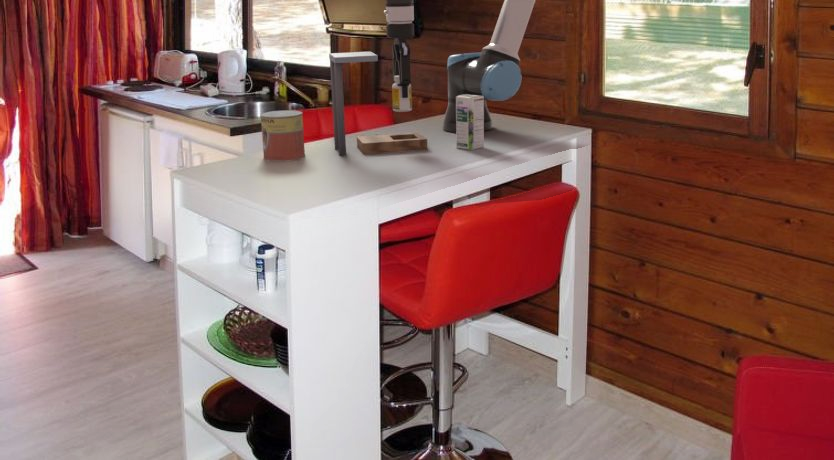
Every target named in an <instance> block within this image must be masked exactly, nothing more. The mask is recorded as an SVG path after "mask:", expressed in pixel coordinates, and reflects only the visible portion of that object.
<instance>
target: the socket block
mask: <svg viewBox="0 0 834 460" xmlns="http://www.w3.org/2000/svg"><path fill="white" fill-rule="evenodd" d="M356 146H357V148H358V150H359V151H360V152H361V153H362V155H374V154H385V153H397V152H398V153H400V152H401V153H402V152H417V151H428V139H427V138H426V137H425V136H424V135H423V134H421V133H420V132H406V133H404V132H403V133H390V134H374V135H361V136H360V135H359V136H356Z"/></svg>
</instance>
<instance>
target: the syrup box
mask: <svg viewBox="0 0 834 460" xmlns="http://www.w3.org/2000/svg"><path fill="white" fill-rule="evenodd" d="M455 134H456V136H455V137H456V138H455V139H456V140H455V142H456V143H455V147H456V149H463V150H468V151H469V150H470V151H473V150H477V149H481V148H484V146H485V144H484V143H485V142H484V141H485V140H484V138H485V136H484V134H485V131H484V96H477V95H459V96H456V132H455Z"/></svg>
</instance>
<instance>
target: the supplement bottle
mask: <svg viewBox="0 0 834 460" xmlns="http://www.w3.org/2000/svg"><path fill="white" fill-rule="evenodd" d="M393 81H395V82H394V83H393V84H392V86H391V94H392V95H391V97H392V110H393V111H394V112H395V113H403V112H404V113H406V112H410V111H412V109H413V100H412V98H413V97H412V84H409V101H410V109H408V110H400V107H399V86H397V84H400V80H399V75H397V76H394V80H393Z"/></svg>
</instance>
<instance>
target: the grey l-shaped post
mask: <svg viewBox="0 0 834 460" xmlns="http://www.w3.org/2000/svg"><path fill="white" fill-rule="evenodd" d="M328 57H329V62H330V65H329V67H330V82H331V83H330V84H331V102H332V103H331V104H332V121H333V138H334V139H333V140H334V141H333V142H334V150H338V156H339V157H344V156H347V143H346V142H347V141H346V139H347V138H346V122H345V119H346V118H345V104H344V103H345V102H344V100H345V99H344V82H343V64H345V63H347V64H349V63H367V62H378V61H379V60H378V59H379V57H378V54H375V53H374V52H372V51H354V52H351V51H350V52H334V53H332V52H331V53H329V54H328Z"/></svg>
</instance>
